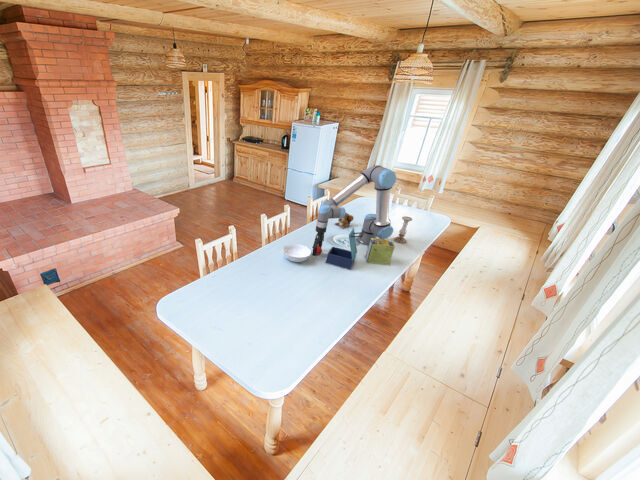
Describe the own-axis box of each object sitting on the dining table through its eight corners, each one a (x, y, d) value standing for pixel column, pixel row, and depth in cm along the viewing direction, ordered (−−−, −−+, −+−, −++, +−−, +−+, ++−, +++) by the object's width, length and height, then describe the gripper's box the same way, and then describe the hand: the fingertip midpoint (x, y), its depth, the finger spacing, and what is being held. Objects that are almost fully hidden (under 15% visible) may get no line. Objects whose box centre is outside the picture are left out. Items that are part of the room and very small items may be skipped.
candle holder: (403, 238, 268) (410, 216, 257) (407, 243, 260) (414, 220, 250) (392, 237, 268) (399, 215, 258) (396, 242, 261) (403, 219, 250)
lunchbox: (325, 262, 230) (327, 253, 226) (330, 255, 240) (332, 246, 236) (350, 269, 223) (352, 260, 219) (354, 261, 232) (356, 252, 228)
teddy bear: (334, 224, 289) (337, 211, 282) (346, 222, 294) (349, 208, 287) (341, 228, 281) (344, 215, 274) (353, 226, 286) (357, 212, 280)
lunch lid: (348, 235, 212) (361, 234, 208) (352, 228, 222) (365, 227, 217) (352, 259, 219) (364, 259, 214) (356, 252, 228) (368, 251, 224)
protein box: (389, 265, 230) (395, 246, 222) (367, 262, 232) (372, 243, 224) (386, 258, 238) (392, 239, 230) (365, 255, 241) (370, 237, 233)
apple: (313, 251, 244) (315, 242, 240) (322, 253, 242) (324, 244, 237) (310, 255, 239) (312, 246, 235) (319, 257, 236) (321, 248, 232)
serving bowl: (309, 267, 224) (311, 258, 221) (280, 263, 228) (281, 255, 224) (310, 253, 242) (311, 245, 238) (282, 250, 245) (283, 242, 241)
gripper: (321, 219, 239) (317, 244, 250) (310, 231, 220) (306, 257, 231) (331, 221, 236) (326, 246, 247) (321, 233, 217) (316, 260, 228)
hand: (316, 251), depth 239 cm, fingers open, 13 cm apart
